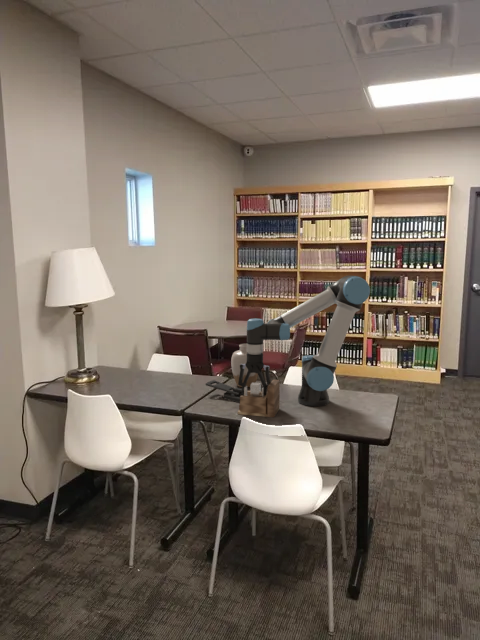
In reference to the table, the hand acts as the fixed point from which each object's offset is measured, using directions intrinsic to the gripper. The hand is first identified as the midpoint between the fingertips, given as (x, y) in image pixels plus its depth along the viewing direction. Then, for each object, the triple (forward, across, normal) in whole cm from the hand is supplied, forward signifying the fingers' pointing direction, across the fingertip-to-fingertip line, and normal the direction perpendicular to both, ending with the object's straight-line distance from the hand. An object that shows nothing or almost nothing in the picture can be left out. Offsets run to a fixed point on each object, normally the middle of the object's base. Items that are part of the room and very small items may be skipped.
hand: (254, 401), depth 219 cm
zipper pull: (+5, +18, -18) cm, 26 cm away
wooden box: (+5, -2, 0) cm, 5 cm away
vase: (+5, +15, -41) cm, 44 cm away
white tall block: (+4, -1, 0) cm, 4 cm away
